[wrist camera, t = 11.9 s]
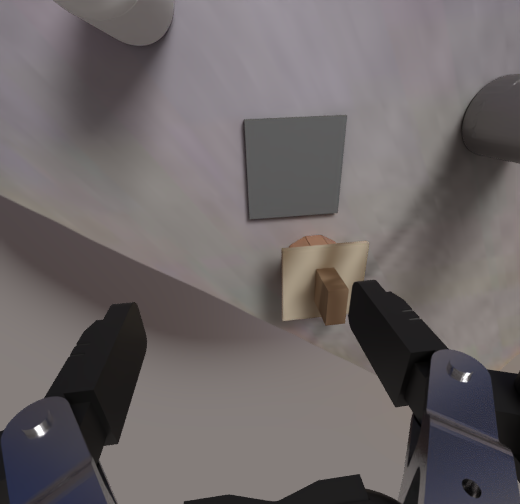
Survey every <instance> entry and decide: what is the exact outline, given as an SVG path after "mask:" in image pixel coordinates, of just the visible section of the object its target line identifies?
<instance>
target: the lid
mask: <svg viewBox="0 0 520 504" xmlns="http://www.w3.org/2000/svg"><path fill="white" fill-rule="evenodd" d="M368 249H369V243H368V242H367V241H359V242H348V243H337V244H325V245H314V246H303V247H292V248H282V319H283V321H288V320H297V319H306V318H315V317H322V319H323V321H324V323H325V325H335V324H344V323H345V318H346V314H348V313H349V306H350V298H351V291H352V285H353V283H354V282H357V281H364V275H365V269H366V262H367V255H368Z"/></svg>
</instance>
